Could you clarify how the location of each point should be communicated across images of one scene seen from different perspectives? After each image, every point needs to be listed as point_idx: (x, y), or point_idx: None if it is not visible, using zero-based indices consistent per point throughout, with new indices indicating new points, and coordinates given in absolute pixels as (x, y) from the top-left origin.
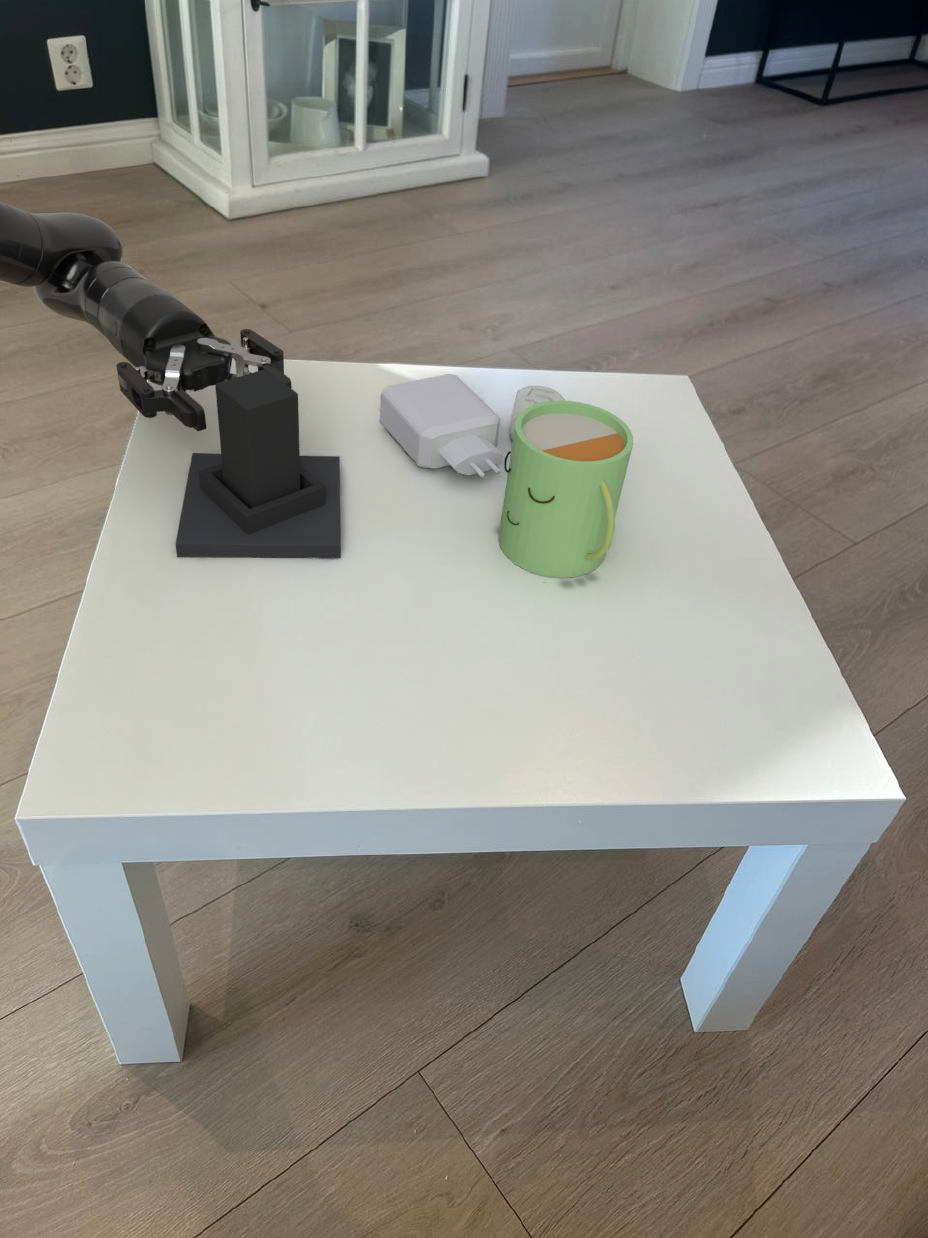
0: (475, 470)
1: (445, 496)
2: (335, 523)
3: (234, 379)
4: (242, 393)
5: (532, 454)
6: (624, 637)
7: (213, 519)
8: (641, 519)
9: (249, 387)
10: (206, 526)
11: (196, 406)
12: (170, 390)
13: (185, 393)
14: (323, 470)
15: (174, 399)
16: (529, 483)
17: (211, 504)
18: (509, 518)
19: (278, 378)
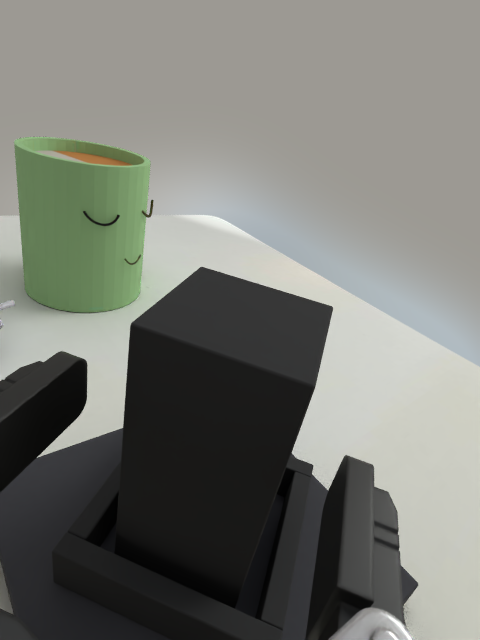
0: (1, 308)
1: (28, 357)
2: None
3: (251, 357)
4: (291, 326)
5: (143, 172)
6: (179, 259)
7: None
8: (14, 250)
9: (255, 323)
10: None
11: (363, 469)
12: (395, 617)
13: (345, 553)
14: (52, 479)
15: (385, 597)
16: (142, 206)
17: (288, 607)
18: (125, 266)
19: (59, 369)
